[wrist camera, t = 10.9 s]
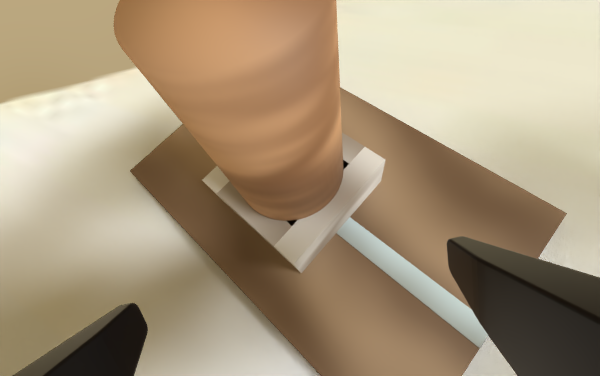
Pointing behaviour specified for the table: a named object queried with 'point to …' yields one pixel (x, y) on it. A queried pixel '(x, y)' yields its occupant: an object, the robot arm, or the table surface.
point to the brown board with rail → (359, 245)
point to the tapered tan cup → (249, 90)
